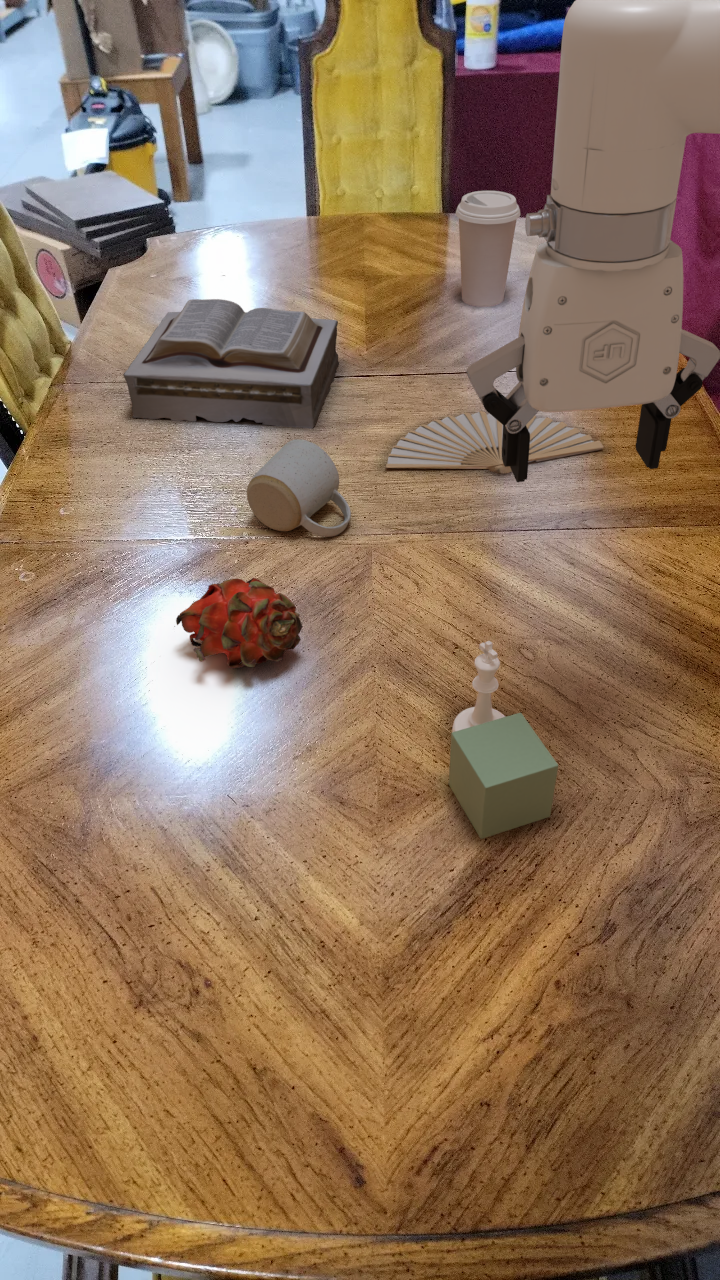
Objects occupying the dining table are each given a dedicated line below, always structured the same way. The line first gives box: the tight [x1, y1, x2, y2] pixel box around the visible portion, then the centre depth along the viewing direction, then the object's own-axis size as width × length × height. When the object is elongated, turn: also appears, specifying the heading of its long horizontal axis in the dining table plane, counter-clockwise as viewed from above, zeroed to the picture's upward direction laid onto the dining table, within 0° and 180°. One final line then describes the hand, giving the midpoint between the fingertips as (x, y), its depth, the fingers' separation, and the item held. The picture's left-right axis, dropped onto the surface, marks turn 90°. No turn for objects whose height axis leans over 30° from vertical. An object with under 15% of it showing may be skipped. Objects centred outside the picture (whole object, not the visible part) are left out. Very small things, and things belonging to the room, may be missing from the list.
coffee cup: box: [455, 190, 521, 308], centre depth 150 cm, size 10×10×15 cm
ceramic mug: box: [246, 438, 352, 538], centre depth 107 cm, size 11×8×8 cm
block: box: [448, 712, 559, 840], centre depth 76 cm, size 6×6×6 cm
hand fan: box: [385, 410, 605, 475], centre depth 120 cm, size 26×1×15 cm
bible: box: [123, 298, 340, 430], centre depth 130 cm, size 23×27×10 cm
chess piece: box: [451, 640, 506, 733], centre depth 81 cm, size 5×5×10 cm
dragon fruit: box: [173, 577, 304, 670], centre depth 90 cm, size 8×8×12 cm
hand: (581, 465), depth 73 cm, fingers open, 9 cm apart
